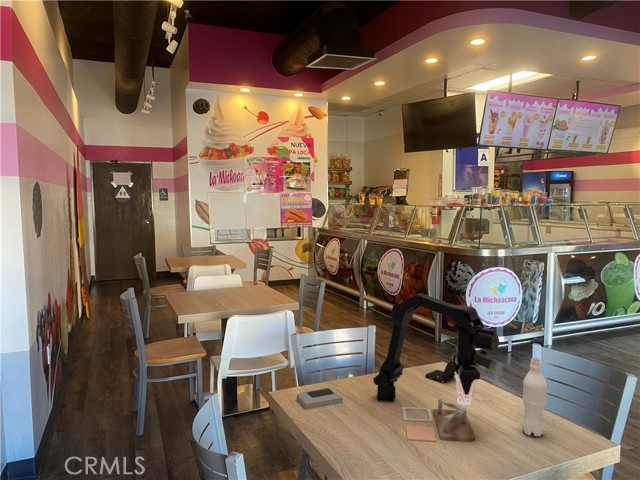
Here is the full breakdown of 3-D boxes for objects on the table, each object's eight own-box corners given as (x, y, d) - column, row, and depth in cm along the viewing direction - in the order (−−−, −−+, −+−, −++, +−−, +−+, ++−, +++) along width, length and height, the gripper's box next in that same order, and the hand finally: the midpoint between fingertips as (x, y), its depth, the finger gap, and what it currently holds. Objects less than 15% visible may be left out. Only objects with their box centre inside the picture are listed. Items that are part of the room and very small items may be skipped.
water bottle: (520, 435, 157) (523, 361, 154) (522, 426, 163) (525, 354, 161) (544, 440, 153) (547, 365, 151) (545, 431, 160) (548, 358, 157)
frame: (403, 420, 167) (403, 419, 167) (402, 408, 177) (402, 407, 177) (432, 422, 166) (432, 421, 166) (429, 409, 176) (429, 408, 176)
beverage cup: (476, 406, 159) (477, 365, 158) (459, 407, 159) (460, 366, 157) (468, 398, 165) (469, 359, 164) (451, 399, 165) (452, 359, 163)
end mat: (407, 440, 154) (407, 438, 154) (405, 426, 163) (405, 425, 163) (436, 441, 153) (436, 440, 153) (432, 428, 162) (432, 427, 161)
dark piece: (437, 372, 213) (437, 350, 212) (461, 380, 204) (461, 357, 203) (424, 377, 207) (425, 355, 206) (448, 386, 198) (449, 362, 197)
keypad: (296, 391, 184) (331, 385, 190) (296, 400, 184) (331, 394, 190) (305, 401, 175) (342, 394, 181) (305, 410, 176) (342, 403, 182)
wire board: (440, 439, 154) (440, 421, 153) (433, 412, 174) (433, 395, 173) (475, 441, 153) (476, 423, 152) (464, 413, 172) (464, 397, 172)
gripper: (497, 354, 150) (495, 402, 151) (484, 337, 169) (482, 380, 170) (461, 353, 151) (459, 400, 153) (451, 336, 170) (450, 378, 171)
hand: (464, 389), depth 162 cm, fingers closed on beverage cup, 7 cm apart
